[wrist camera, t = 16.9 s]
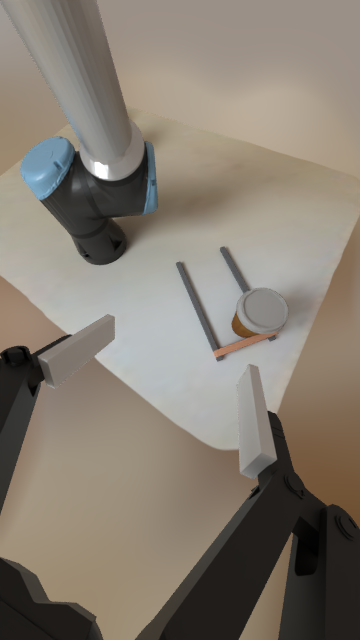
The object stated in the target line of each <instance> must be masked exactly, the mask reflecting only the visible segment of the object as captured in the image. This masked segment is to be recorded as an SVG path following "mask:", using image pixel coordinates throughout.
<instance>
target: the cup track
mask: <svg viewBox="0 0 360 640" xmlns="http://www.w3.org/2000/svg"><path fill="white" fill-rule="evenodd" d="M220 251H221V253H222V255H223V257H224V258H225V260H226V262H227V264H228V266H229V268H230V269H231V271H232V273H233V275H234V277H235V278H236V280H237V282H238V284H239V286H240V288H241V289H242V291H243V293H245V292H247V291H249V290H248V288H247V286H246V284H245V282H244V281H243V279H242V277H241V275H240V274H239V272H238V270H237V268H236V266H235V265H234V263H233V261H232V259H231V257H230V256H229V254H228V252H227V250H226V249H225V247H221V248H220ZM176 265H177V268H178V270H179V272H180V275H181V277H182V280H183V282H184V284H185V287H186V289H187V291H188V294H189V296H190V298H191V301H192V303H193V305H194V308H195V310H196V313H197V315H198V317H199V320H200V322H201V324H202V327H203V329H204V331H205V334H206V336H207V338H208V341H209V343H210V345H211V348H212V350H213V353H214V355H215V357H216V360H217V362H218V361H220V360H223V359H222V357H221V355H224V354H227V353H229V352H232V351H234V350H237V349H240V348H242V347H245V346H247V345H250V344H253V343H255V342H258V341H260V340H263V339H266V338H268V339H269V341H272V340H275V339H276V338H275V336H274V335H276V334H278V332H274V333H271V334H259V335H255V336H252V337H249V338H247V339H244V340H241V341H239V342H236V343H234V344H231V345H228V346H226V347H223V348H220V349H218V348H217V345H216V343H215V341H214V339H213V336H212V334H211V332H210V329H209V327H208V325H207V323H206V320H205V318H204V316H203V313H202V311H201V309H200V307H199V304H198V302H197V300H196V297H195V295H194V293H193V290H192V288H191V286H190V284H189V281H188V279H187V277H186V274H185V272H184V270H183V268H182V265H181V263H180V262H177V263H176Z"/></svg>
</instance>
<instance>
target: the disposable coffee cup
mask: <svg viewBox="0 0 360 640" xmlns="http://www.w3.org/2000/svg"><path fill="white" fill-rule="evenodd" d="M287 317H288V306H287V303H286V301H285V300H284V299H283V297H282V296H281V295H280V294H278V293H277V292H275V291H273V290H271V289H267V288H256V289H252V290H249V291H247V292H245V293H244V294H243V295H242V296H241V297H240V299H239V300H238V303H237V310H236V313H235V316H234V318H233V321H232V329H233V331H234V332H235V333H236V334H237V335H238V336H240V337H251V336H255V335H259V334H271V333H274V332H277V331H278V330H280V329H281V328H282V327H283V326H284V324H285V323H286V320H287Z"/></svg>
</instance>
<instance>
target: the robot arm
mask: <svg viewBox="0 0 360 640" xmlns="http://www.w3.org/2000/svg"><path fill="white" fill-rule="evenodd" d="M0 3H1V5H2V6H3V8H4V10H5V11H6V13H7V15H8V17H9V19H10V20H11V22H12V24H13V26H14V27H15V29H16V31H17V33H18V34H19V36H20V38H21V39H22V41H23V43H24V45H25V46H26V48H27V50H28V52H29V53H30V55H31V57H32V59H33V60H34V62H35V63H36V65H37V67H38V69H39V70H40V72H41V74H42V76H43V77H44V79H45V81H46V83H47V84H48V86H49V88H50V90H51V91H52V93H53V95H54V97H55V98H56V100H57V102H58V103H59V105H60V107H61V109H62V111H63V112H64V114H65V116H66V117H67V119H68V121H69V123H70V124H71V126H72V128H73V130H74V131H75V133H76V135H77V137H78V138H79V140H80V143H79V151H75V148H74V146H73V145H72V144H71V143H70V142H69V140H68V139H66V138H62V137H52V138H49V139H46V140H44V141H42V142H40V143H39V144H37V145H36V146H34V147H33V148H32V149H31V150H30V151H29V152H28V153H27V154H26V156H25V157H24V159H23V161H22V163H21V168H20V170H21V176H22V178H23V180H24V181H25V183H26V184H27V185H28V186H29V188H30V189H31V190H32V192H33V193H34V194H35V196H36V198H37V199H39V200H40V201H41V202H42V204H43V205H44V206H45V207H46V208H47V209H48V210H49V211H50V212H51V214H52V215H53V216H54V217H55V218H56V219H57V220H58V221H59V222H60V224H61V225H62V226H63V227H64V228H65V229H66V230H67V231H68V232H69V234H70V235H71V237H72V239H73V241H74V243H75V246H76V248H77V250H78V252H79V254H80V255H81V256H82V257H83V258H84V259H85V260H86V261H87V262H89V263H91V264H95V265H104V264H108V263H111V262H113V261H115V260H116V259H118V258H119V257H120V256H121V255H122V254H123V252H124V250H125V248H126V245H127V240H126V236H125V234H124V232H123V230H122V229H121V227H120V226H119V225H118V224H117V223H116V222H115V221H114V220H113V219H112V218H114V217H125V216H135V215H145V214H147V213H153V212H155V211H156V210H157V207H158V196H157V183H156V167H155V156H154V147H153V145H152V143H150V142H147V141H144V140H143V137H142V134H141V131H140V130H139V128H138V127H137V125H136V124H135V123H134V122H133V121H131V120H130V119H129V118H128V114H127V110H126V107H125V103H124V100H123V96H122V92H121V89H120V85H119V81H118V77H117V74H116V70H115V67H114V63H113V60H112V56H111V52H110V48H109V45H108V41H107V37H106V34H105V30H104V26H103V23H102V19H101V15H100V12H99V8H98V5H97V1H96V0H0ZM114 339H115V317H114V316H111V315H106V316H104V317H102V318H101V319H99V320H97V321H96V322H94V323H92V324H91V325H89V326H87V327H86V328H84V329H82V330H81V331H79V332H77V333H76V334H74V335H71V334H70V335H67V336H63V337H61V338H59V339H58V340H56V341H54V342H52V343H51V344H49V345H47V346H45V347H44V348H42V349H40V350H38V351H36V352H35V353H33V354H30V351H29V349H28V348H27V347H26V346H14V347H11V348H8V349H6V350H4V351H3V352H1V353H0V356H1V358H0V513H1V510H2V507H3V504H4V500H5V498H6V494H7V491H8V488H9V485H10V481H11V479H12V475H13V472H14V469H15V466H16V463H17V459H18V456H19V453H20V450H21V447H22V444H23V441H24V437H25V434H26V431H27V427H28V425H29V422H30V418H31V415H32V412H33V408H34V406H35V402H36V399H37V396H38V393H39V390H40V386H41V383H40V382H41V381H43V380H44V379H45V381H46V385H48V386H50V387H53V388H55V389H56V388H57V387H58V386H59V385H60V384H62V383H63V382H64V381H65V380H66V379H67V378H69V377H70V376H71V375H72V374H73V373H75V372H76V371H77V370H78V369H79V368H81V367H82V366H83V365H84V364H85V363H86V362H88V361H89V360H90V359H91V358H92V357H94V356H95V355H96V354H97V353H98V352H100V351H101V350H102V349H103V348H104V347H106V346H107V345H108V344H109V343H110V342H112V341H113V340H114ZM237 402H238V431H239V459H240V473H241V474H243V475H245V476H247V477H249V478H251V479H254V478H255V477H257V476H258V482H259V485H257V486H256V487H255V488H254V489H252V490H251V491H252V493H251V494H250V496H249V497H248V498H247V499H246V501H245V502H244V503H243V504H242V506H241V507H240V508H239V510H238V511H237V512H236V513H235V515H234V516H233V517H232V519H231V520H230V521H229V522H228V524H227V525H226V526H225V528H224V529H223V530H222V532H221V533H220V534H219V535H218V537H217V538H216V539H215V541H214V542H213V543H212V544H211V546H210V547H209V548H208V550H207V551H206V552H205V553H204V555H203V556H202V557H201V559H200V560H199V561H198V562H197V564H196V565H195V566H194V568H193V569H192V570H191V571H190V573H189V574H188V575H187V577H186V578H185V579H184V580H183V582H182V583H181V584H180V586H179V587H178V588H177V589H176V591H175V592H174V593H173V595H172V596H171V597H170V599H169V600H168V601H167V602H166V604H165V605H164V606H163V607H162V609H161V610H160V611H159V613H158V614H157V615H156V616H155V618H154V619H153V620H152V621H151V622H150V623H149V624H148V625H147V626H146V627H145V628H144V629H143V630H142V631H141V633H140V634H139V635H138V636H137V638H136V639H135V640H239V638H240V635H241V634H242V632H243V630H244V628H245V625H246V623H247V621H248V619H249V617H250V615H251V613H252V611H253V609H254V607H255V605H256V603H257V601H258V599H259V597H260V595H261V593H262V591H263V589H264V587H265V584H266V583H267V581H268V579H269V577H270V575H271V573H272V571H273V569H274V567H275V565H276V563H277V561H278V559H279V556H280V554H281V552H282V550H283V548H284V546H285V544H286V542H287V540H288V538H289V536H290V534H291V532H292V533H293V540H292V547H291V554H290V561H289V568H288V575H287V582H286V589H285V596H284V603H283V610H282V617H281V624H280V631H279V638H278V640H360V529H359V528H358V526H357V524H356V523H355V522H354V520H353V519H352V518H351V517H350V516H349V514H348V513H347V512H346V511H345V510H343V509H342V508H340V507H339V506H337V505H334V504H332V505H329V506H327V505H325V504H324V503H323V502H322V501H320V500H319V499H318V498H316V497H315V496H314V495H313V494H311V493H310V492H309V491H308V490H307V489H306V488H305V486H304V484H303V482H302V480H301V479H300V478H299V476H298V475H297V474H296V473H295V472H294V469H293V466H292V462H291V459H290V454H289V451H288V447H287V443H286V440H285V436H284V433H283V428H282V425H281V422H280V420H279V418H278V417H277V415H276V414H275V413H272V412H270V411H267V408H266V403H265V398H264V393H263V388H262V384H261V379H260V374H259V369H258V367H257V366H254V365H251V364H249V365H248V366H247V368H246V370H245V372H244V373H243V375H242V377H241V378H240V380H239V382H238V384H237ZM95 620H96V616H95V615H93V614H92V613H90V612H89V611H88V610H86V609H85V608H83V607H82V606H80V605H79V604H77V603H69V602H52V601H50V600H49V599H48V597H47V595H46V593H45V591H44V589H43V587H42V585H41V583H40V581H39V579H38V577H37V576H36V575H35V574H34V573H32V572H31V571H29V570H28V569H26V568H25V567H23V566H22V565H20V564H19V563H16V562H13V561H10V560H7V559H4V558H1V557H0V640H103V637H102V634H101V631H100V629H99V627H98V625H97V623H96V621H95Z"/></svg>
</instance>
